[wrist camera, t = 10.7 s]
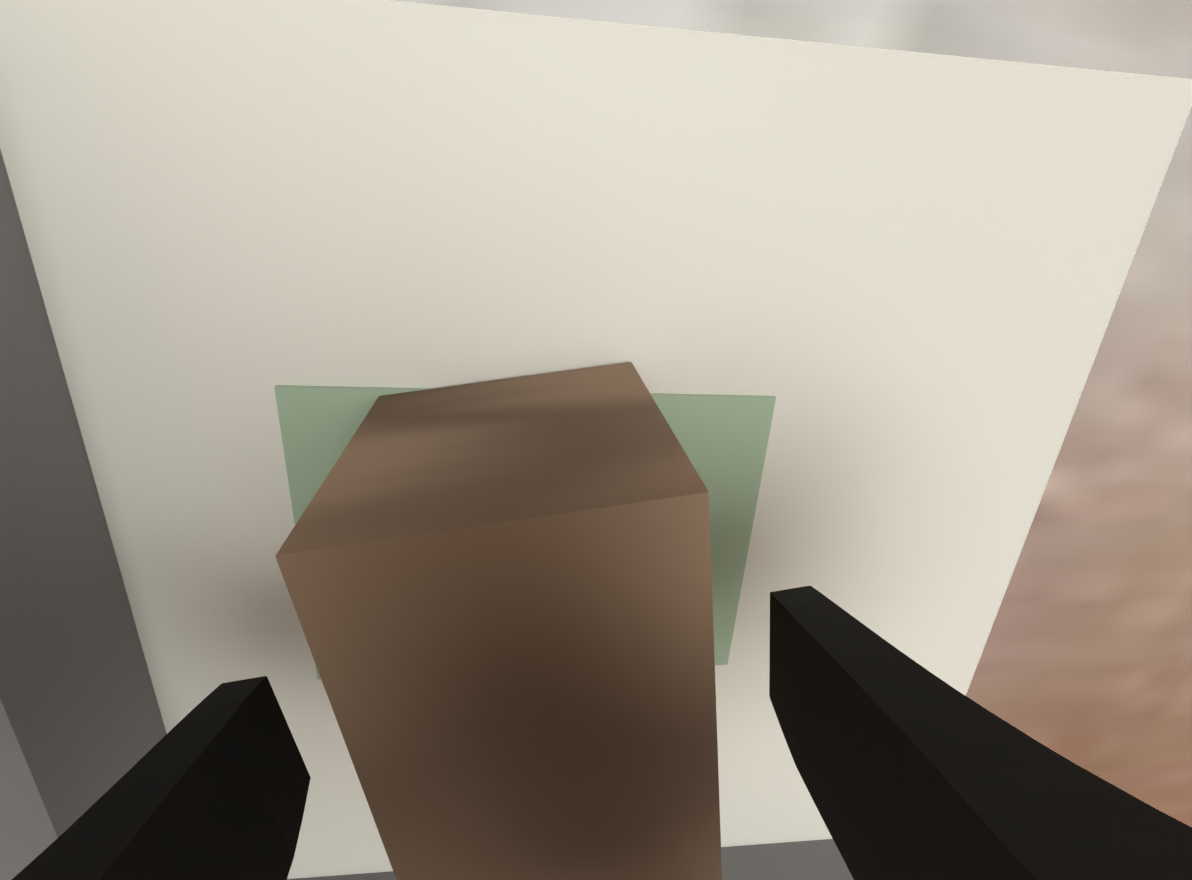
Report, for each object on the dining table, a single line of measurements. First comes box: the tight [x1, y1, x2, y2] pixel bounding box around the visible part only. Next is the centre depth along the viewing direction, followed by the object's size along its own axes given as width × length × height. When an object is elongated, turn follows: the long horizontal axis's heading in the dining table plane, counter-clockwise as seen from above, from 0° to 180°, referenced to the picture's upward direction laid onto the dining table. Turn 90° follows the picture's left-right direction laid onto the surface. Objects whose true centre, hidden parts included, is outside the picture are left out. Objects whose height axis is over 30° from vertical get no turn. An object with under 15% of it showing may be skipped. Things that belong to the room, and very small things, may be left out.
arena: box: [0, 0, 1192, 880], centre depth 12 cm, size 20×20×4 cm
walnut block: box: [275, 362, 722, 880], centre depth 10 cm, size 4×7×5 cm, turn 6°
